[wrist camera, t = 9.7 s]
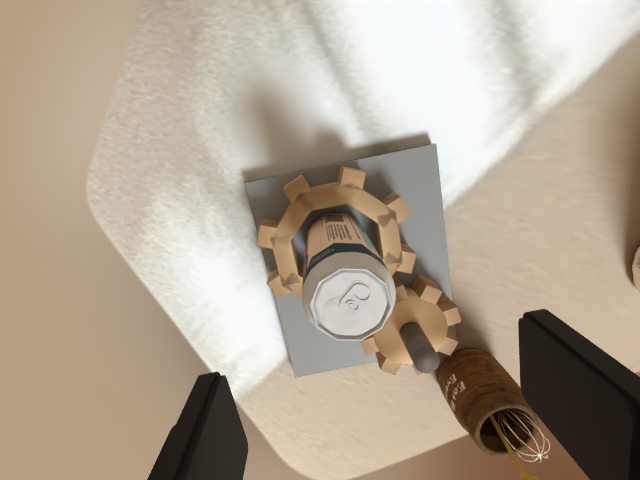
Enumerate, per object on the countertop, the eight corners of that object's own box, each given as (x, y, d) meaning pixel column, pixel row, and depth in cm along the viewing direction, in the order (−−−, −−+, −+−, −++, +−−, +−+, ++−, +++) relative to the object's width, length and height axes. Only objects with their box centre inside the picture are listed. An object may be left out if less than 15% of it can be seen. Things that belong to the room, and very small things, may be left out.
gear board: (247, 181, 28) (244, 183, 27) (431, 143, 27) (436, 143, 26) (295, 370, 32) (295, 377, 31) (452, 340, 32) (457, 346, 31)
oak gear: (248, 185, 27) (242, 189, 24) (395, 154, 26) (404, 155, 24) (281, 317, 30) (279, 332, 27) (414, 291, 29) (423, 304, 27)
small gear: (342, 293, 29) (351, 333, 23) (434, 259, 29) (468, 290, 22) (373, 369, 31) (389, 425, 25) (459, 339, 31) (497, 388, 25)
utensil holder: (492, 338, 32) (595, 447, 21) (501, 393, 34) (600, 522, 22) (431, 354, 32) (498, 470, 21) (442, 407, 34) (510, 542, 22)
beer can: (293, 244, 28) (281, 314, 16) (330, 198, 27) (344, 238, 16) (339, 277, 29) (357, 366, 17) (375, 234, 28) (421, 297, 16)
